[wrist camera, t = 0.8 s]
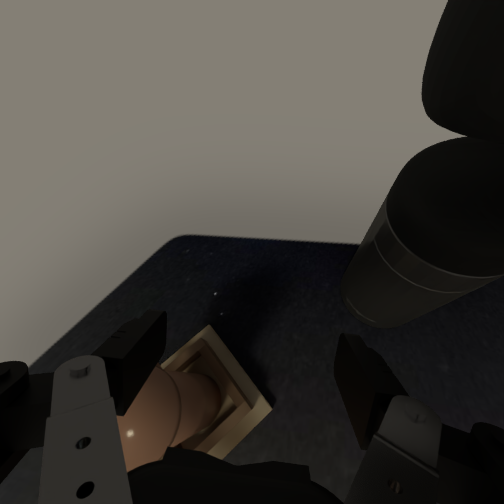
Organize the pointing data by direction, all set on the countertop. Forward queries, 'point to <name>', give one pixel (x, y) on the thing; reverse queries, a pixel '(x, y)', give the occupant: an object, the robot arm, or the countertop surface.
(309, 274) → the countertop surface
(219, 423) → the board
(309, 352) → the countertop surface
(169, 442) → the tall brown tankard
